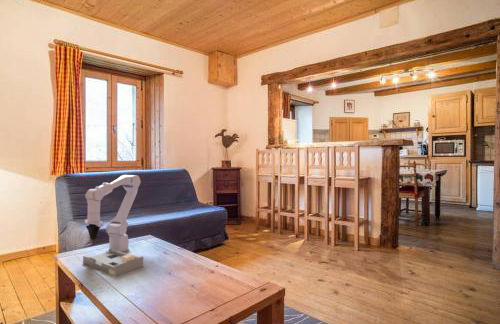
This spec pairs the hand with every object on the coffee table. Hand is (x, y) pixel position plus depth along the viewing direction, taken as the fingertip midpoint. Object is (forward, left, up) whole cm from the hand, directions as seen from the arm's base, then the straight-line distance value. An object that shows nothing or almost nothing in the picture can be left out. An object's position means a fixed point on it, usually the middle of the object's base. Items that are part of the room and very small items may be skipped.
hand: (93, 239), depth 147 cm
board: (-2, +15, -10) cm, 18 cm away
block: (-3, +26, -8) cm, 27 cm away
